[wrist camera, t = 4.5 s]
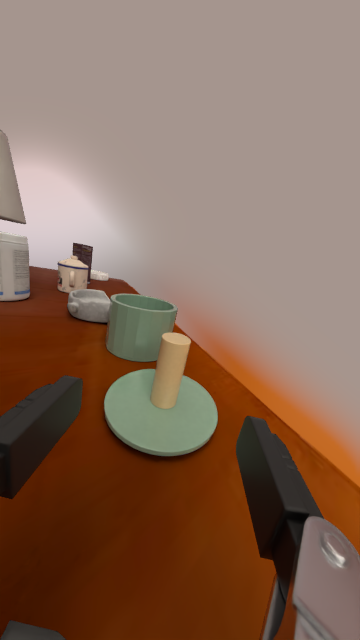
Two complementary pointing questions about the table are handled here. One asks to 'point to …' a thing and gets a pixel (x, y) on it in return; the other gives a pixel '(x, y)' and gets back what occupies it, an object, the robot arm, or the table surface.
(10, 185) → the lamp
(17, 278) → the supplement tub
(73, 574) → the table surface
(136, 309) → the canister
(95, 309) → the dish
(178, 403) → the lid
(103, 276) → the mooncake
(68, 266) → the teacup with lid
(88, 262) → the supplement box
